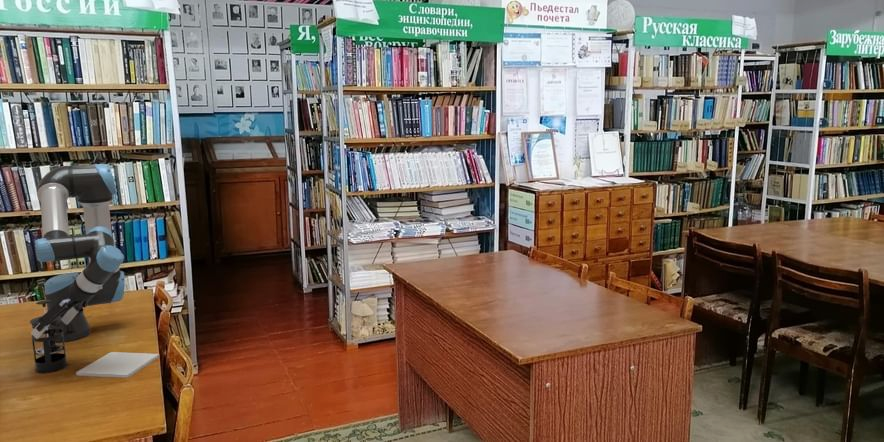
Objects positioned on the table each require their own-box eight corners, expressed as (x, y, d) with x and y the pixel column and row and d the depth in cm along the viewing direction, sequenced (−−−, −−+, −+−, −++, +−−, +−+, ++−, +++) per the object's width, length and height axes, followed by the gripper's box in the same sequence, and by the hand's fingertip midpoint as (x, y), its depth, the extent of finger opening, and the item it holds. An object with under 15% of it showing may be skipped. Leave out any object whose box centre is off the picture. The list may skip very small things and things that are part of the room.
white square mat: (111, 354, 230) (111, 351, 229) (159, 356, 227) (158, 353, 227) (76, 375, 212) (75, 372, 212) (127, 377, 209) (127, 374, 209)
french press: (65, 371, 216) (57, 303, 212) (32, 376, 212) (23, 307, 208) (70, 358, 226) (62, 294, 222) (38, 363, 223) (30, 297, 219)
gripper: (68, 305, 199) (29, 350, 204) (118, 283, 223) (83, 324, 228) (50, 287, 199) (12, 333, 203) (102, 267, 223) (67, 309, 228)
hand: (49, 328), depth 216 cm, fingers open, 13 cm apart
